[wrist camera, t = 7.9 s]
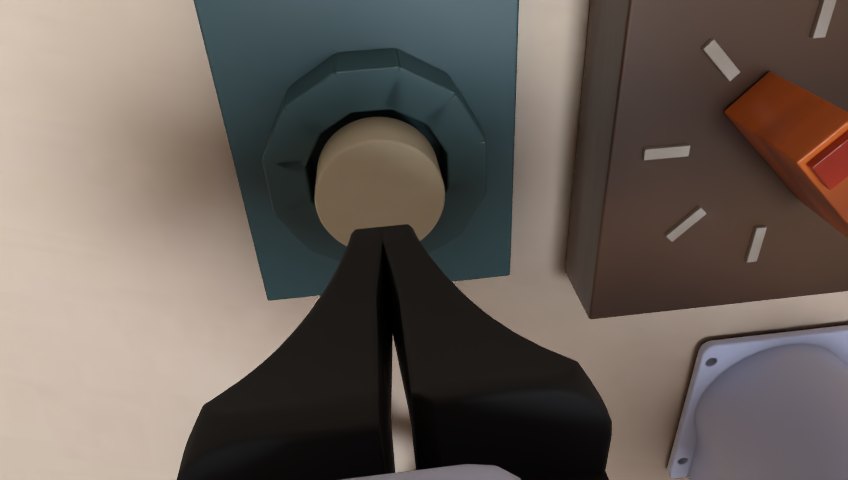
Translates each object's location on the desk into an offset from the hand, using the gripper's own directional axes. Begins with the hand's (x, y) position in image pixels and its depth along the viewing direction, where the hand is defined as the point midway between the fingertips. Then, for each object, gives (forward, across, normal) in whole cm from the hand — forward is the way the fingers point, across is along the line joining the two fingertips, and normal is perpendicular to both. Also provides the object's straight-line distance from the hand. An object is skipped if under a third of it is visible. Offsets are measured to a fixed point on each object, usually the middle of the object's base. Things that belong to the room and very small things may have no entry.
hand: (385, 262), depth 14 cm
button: (+5, 0, 0) cm, 5 cm away
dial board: (+7, -12, 0) cm, 15 cm away
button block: (+7, 0, 0) cm, 7 cm away
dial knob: (+4, -12, 0) cm, 13 cm away
